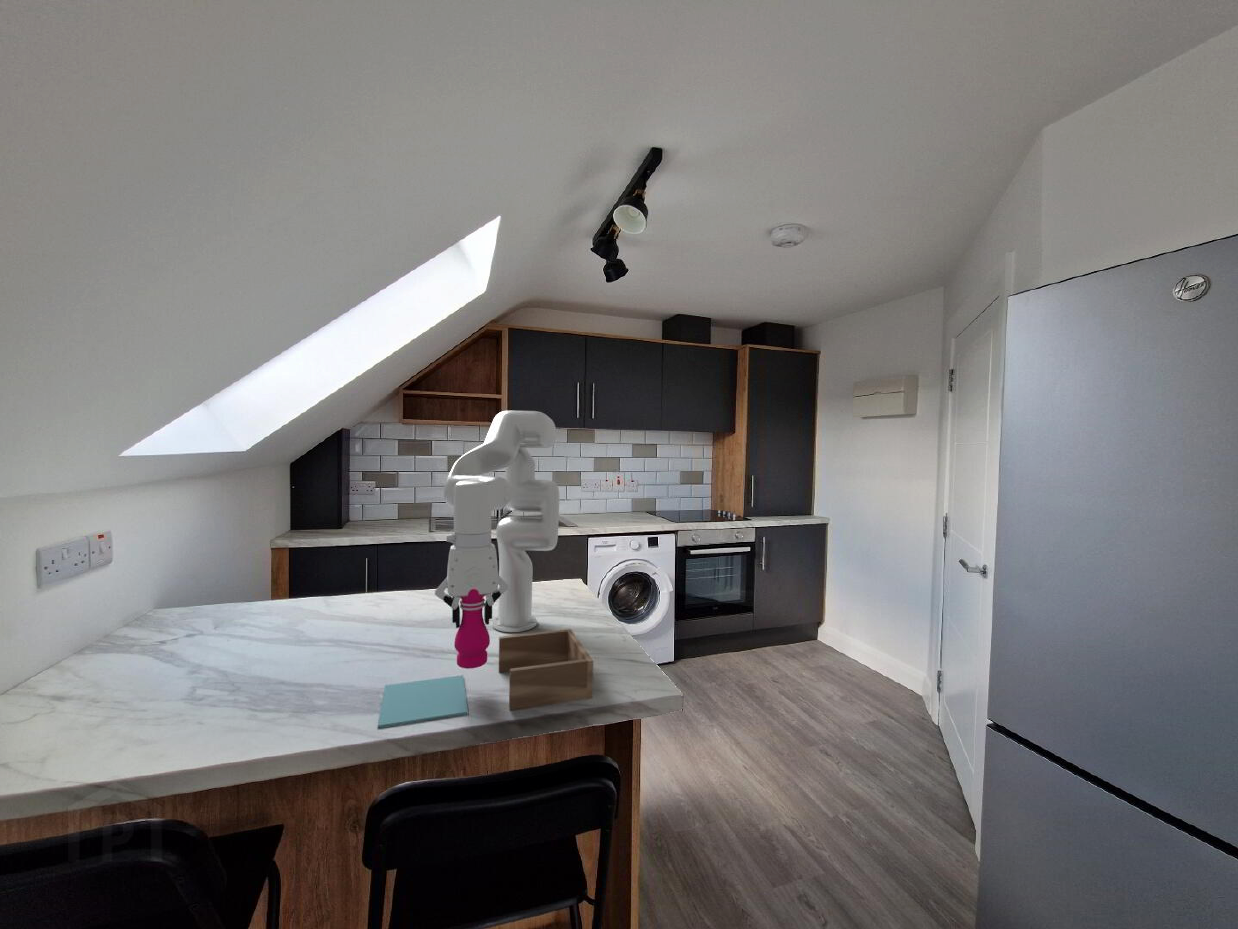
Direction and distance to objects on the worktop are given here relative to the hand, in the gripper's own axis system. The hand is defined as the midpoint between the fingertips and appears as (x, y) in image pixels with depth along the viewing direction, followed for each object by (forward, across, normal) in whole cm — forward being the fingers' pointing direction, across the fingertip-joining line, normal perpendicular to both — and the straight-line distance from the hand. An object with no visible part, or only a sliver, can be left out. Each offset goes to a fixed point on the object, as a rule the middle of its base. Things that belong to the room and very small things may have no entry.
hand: (472, 623), depth 106 cm
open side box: (+15, +14, -1) cm, 21 cm away
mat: (+15, -10, -1) cm, 18 cm away
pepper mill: (+9, 0, 0) cm, 9 cm away
